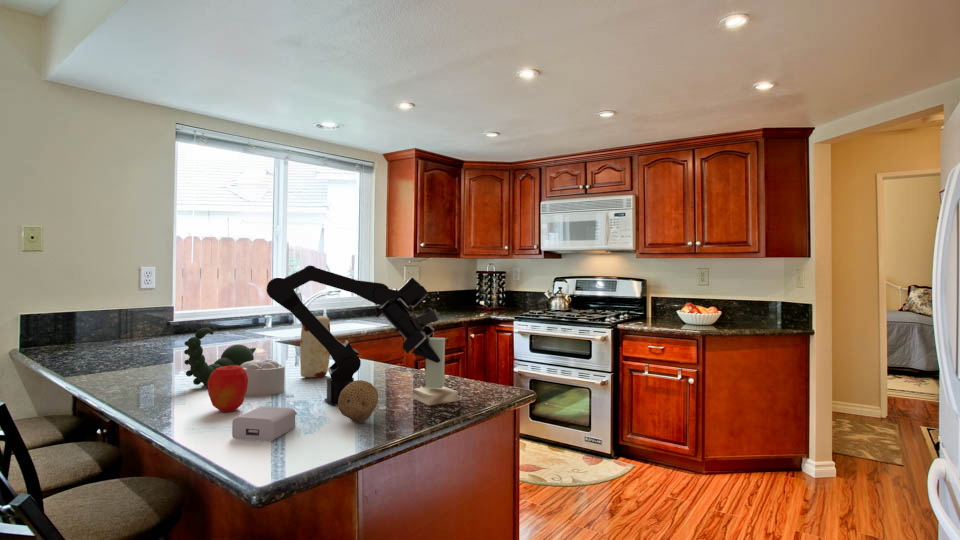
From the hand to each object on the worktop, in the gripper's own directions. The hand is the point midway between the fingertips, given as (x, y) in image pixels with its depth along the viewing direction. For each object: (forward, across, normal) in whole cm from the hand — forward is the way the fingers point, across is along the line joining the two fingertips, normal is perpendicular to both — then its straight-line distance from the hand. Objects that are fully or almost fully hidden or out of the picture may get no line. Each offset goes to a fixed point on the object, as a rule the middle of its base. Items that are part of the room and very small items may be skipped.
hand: (440, 360), depth 140 cm
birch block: (+7, 0, +9) cm, 11 cm away
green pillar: (+4, 0, +6) cm, 7 cm away
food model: (-24, +24, +39) cm, 52 cm away
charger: (-15, -30, +31) cm, 46 cm away
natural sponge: (-3, -24, +19) cm, 31 cm away
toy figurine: (-40, +12, +56) cm, 70 cm away
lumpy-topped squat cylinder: (-29, +4, +45) cm, 53 cm away
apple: (-28, -17, +44) cm, 54 cm away
